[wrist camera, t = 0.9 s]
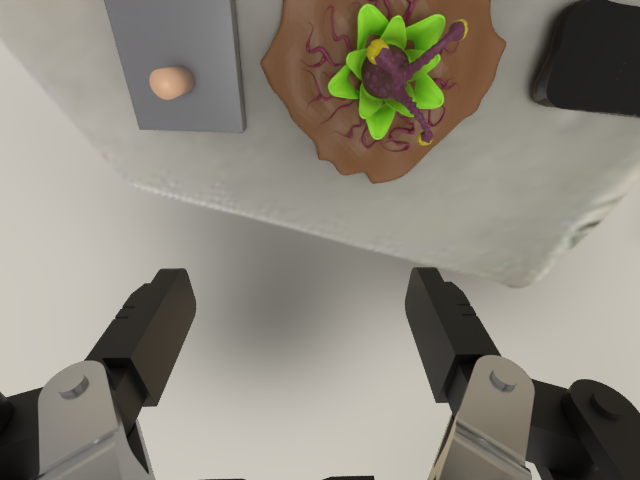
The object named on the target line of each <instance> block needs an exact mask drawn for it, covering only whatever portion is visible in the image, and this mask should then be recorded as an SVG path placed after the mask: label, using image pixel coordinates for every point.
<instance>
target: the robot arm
mask: <svg viewBox="0 0 640 480" xmlns="http://www.w3.org/2000/svg"><path fill="white" fill-rule="evenodd" d="M405 311H406V316H407V319H408V322H409V325H410V327H411V331H412V334H413V337H414V339H415V342H416V345H417V348H418V351H419V354H420V357H421V360H422V363H423V366H424V369H425V372H426V375H427V378H428V381H429V384H430V387H431V390H432V393H433V396H434V399H435V401H436V403H449V405H450V408H451V411H452V414H451V416H450V419H449V422H448V424H447V427H446V430H445V433H444V435H443V438H442V441H441V444H440V447H439V449H438V452H437V455H436V458H435V461H434V463H433V466H432V469H431V472H430V474H429V477H428V479H427V480H532V475H531V472H530V470H529V469H528V468H526V467H525V461H528V462H531V463H534V464H535V466H536V468H537V471H538V473H539V475H540V477H541V479H542V480H640V413H639V412H638V410H637V409H636V408H635V407H634V406H633V405H632V403H630V401H628V400H627V399H626V398H625V397H624V396H623V395H621V394H620V393H619V392H617V391H616V390H614V389H612V388H610V387H609V386H607V385H604V384H602V383H600V382H597V381H593V380H588V379H581V380H577V381H576V382H574V383H573V384H572V385H571V386H570V388H569V389H566V388H563V387H559V386H555V385H552V384H548V383H544V382H540V381H537V380H534V379H531V378H530V377H529V376H528V375H527V374H526V372H525V371H524V370H523V369H522V368H521V367H520V366H518V365H517V364H515V363H514V362H512V361H511V360H509V359H506V358H504V357H502V356H501V355H500V353H499V351H498V350H497V348H496V346H495V345H494V343H493V341H492V340H491V338H490V336H489V334H488V333H487V331H486V330H485V328H484V326H483V324H482V323H481V321H480V319H479V318H478V316H476V313H475V311H474V309H473V307H472V306H470V303H469V301H468V299H467V297H466V296H465V294H464V292H463V291H461V290H460V289H459V288H458V287H457V286H456V285H455V284H453V283H452V282H444V281H443V279H442V277H441V275H440V273H439V271H438V270H437V268H435V267H420V268H419V267H414V268H413V269H412V271H411V275H410V280H409V284H408V290H407V293H406V299H405ZM195 313H196V300H195V296H194V293H193V290H192V286H191V283H190V280H189V276H188V273H187V271H186V270H185V269H183V268H180V269H160V270H159V271H158V273H157V274H156V276H155V277H154V279H153V280H152V282H151V283H146V284H144V285H143V286H141V287H140V288H139V289H137V290H136V291H135V292H133V293H132V294H131V295H130V297H129V298H128V300H127V301H126V302H125V304H124V305H123V308H122V309H120V311H119V312H118V314H117V315H116V317H115V319H114V320H113V321H112V322H111V324H110V325H109V327H108V328H107V329H106V331H105V332H104V334H103V335H102V336H101V338H100V339H99V341H98V342H97V343H96V345H95V346H94V348H93V349H92V351H91V352H90V354H89V355H88V356H87V358H86V359H85V360H84V361H82V362H79V363H75V364H73V365H71V366H69V367H67V368H65V369H63V370H62V371H60V372H59V373H57V374H56V375H55V376H53V378H51V379H50V380H49V381H48V382H47V383H46V385H45V386H44V387H42V388H38V389H34V390H31V391H27V392H24V393H20V394H17V395H13V396H10V397H5V396H4V395H3V394H2V393H1V392H0V480H155V477H154V474H153V470H152V467H151V463H150V459H149V456H148V453H147V449H146V445H145V442H144V438H143V435H142V431H141V428H140V425H139V421H138V419H137V417H138V415H139V412H140V410H141V408H142V407H147V406H148V407H150V406H157V405H158V402H159V400H160V398H161V395H162V393H163V391H164V388H165V386H166V383H167V381H168V378H169V376H170V374H171V372H172V369H173V367H174V364H175V362H176V359H177V357H178V355H179V353H180V350H181V348H182V345H183V343H184V341H185V338H186V336H187V334H188V331H189V329H190V326H191V324H192V322H193V319H194V317H195ZM209 480H245V479H209ZM323 480H374V476H341V477H329V478H326V479H323Z"/></svg>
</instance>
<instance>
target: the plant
mask: <svg viewBox="0 0 640 480" xmlns="http://www.w3.org/2000/svg"><path fill="white" fill-rule="evenodd" d="M490 3H491V0H283V10H282V17H281V22H280V26H279V28H278V31H277V33H276V35H275V37H274V39H273V42H272V44H271V46H270V48H269V50H268V52H267V53H266V55H265V56H264V58H263V59H262V61H261V67H262V69H263V71H264V73H265V75H266V78H267V80H268V82H269V84H270V86H271V88H272V89H273V90H274V92H275V93H276V94H277V95H278V96H279V97H280V98H281V100H282V101H283V102H284V104H285V105H286V107H287V109H288V111H289V113H290V115H291V117H292V119H293V121H294V122H295V123H296V124H297V125H298V126H299V127H300V128H301V129H302V130H303V131H304V132H305V133H306V134H307V135H308V136H309V137H310V138H311V139H312V140H313V141H314V143H315V145H316V147H317V152H318V158H319V160H326V161H330V162H331V163H333V164H334V166H335V167H336V169H337V170H338V172H339V173H340V174H342V175H350V174H355V173H360V172H365V173H367V175H368V177H369V179H370V181H371V182H372V183H383V182H388V181H392V180H395V179H398V178H400V177H402V176H404V175H405V174H407V173H408V172H409V171H410V170H411V169H412V168H413V167H414V166H415V165H416V164H417V163H418V162H419V161H420V160H421V159H422V158H423V157H424V156H425V155H426V154H427V153H428V152H429V151H430V150H431V149H432V148H433V147H434V146H435V145H437V144H438V143H439V142H440V141H441V140H442V139H443V138H444V137H445V136H446V135H447V134H449V133H450V132H451V131H452V130H453V129H454V128H455V127H456V126H457V125H458V124H459V123H460V122H461V121H462V120H463V119H465V118H466V117H468V116H470V115H472V114H473V113H474V112H475V111H476V110H477V109H478V107H479V105H480V102H481V100H482V98H483V97H484V95H485V94H486V93H487V91H488V89H489V88H490V86H491V84H492V82H493V81H494V78H495V74H496V69H497V66H498V62H499V60H500V58H501V55H502V53H503V51H504V49H505V47H506V42H505V40H504V39H502V38H501V37H500V36H498V35H497V33H496V32H495V30H494V28H493V26H492V22H491V15H490Z"/></svg>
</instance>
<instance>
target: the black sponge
mask: <svg viewBox="0 0 640 480" xmlns="http://www.w3.org/2000/svg"><path fill="white" fill-rule="evenodd" d="M533 97H534V101H535V102H536V103H538V104H540V105H543V106H546V107H556V108H561V109H568V110H575V111H586V112H593V113H600V114H611V115H617V116H628V117H635V118H640V7H637V6H630V5H623V4H619V3H615V2H611V1H608V0H581V1H578V2H576V3H575V4H573V5H571V6H570V7H568V8H567V9H566V10H565V11H564V12H563V13H562V15H561V16H560V18H559V20H558V23H557V26H556V28H555V30H554V33H553V37H552V41H551V44H550V49H549V53H548V55H547V58H546V60H545V62H544V64H543V66H542V69H541V71H540V73H539V75H538V77H537V78H536V80H535V81H534V86H533Z"/></svg>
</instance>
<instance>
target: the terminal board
mask: <svg viewBox="0 0 640 480" xmlns="http://www.w3.org/2000/svg"><path fill="white" fill-rule="evenodd" d="M104 2H105V6H106V9H107V13H108V17H109V20H110V24H111V27H112V31H113V35H114V38H115V42H116V46H117V49H118V53H119V56H120V60H121V64H122V67H123V71H124V75H125V78H126V82H127V86H128V89H129V93H130V96H131V100H132V104H133V107H134V111H135V115H136V118H137V122H138V125H139V129H141V130H174V131H206V132H239V133H243V132H244V130H245V129H246V119H245V108H244V97H243V86H242V75H241V64H240V53H239V42H238V32H237V21H236V10H235V0H104Z"/></svg>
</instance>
